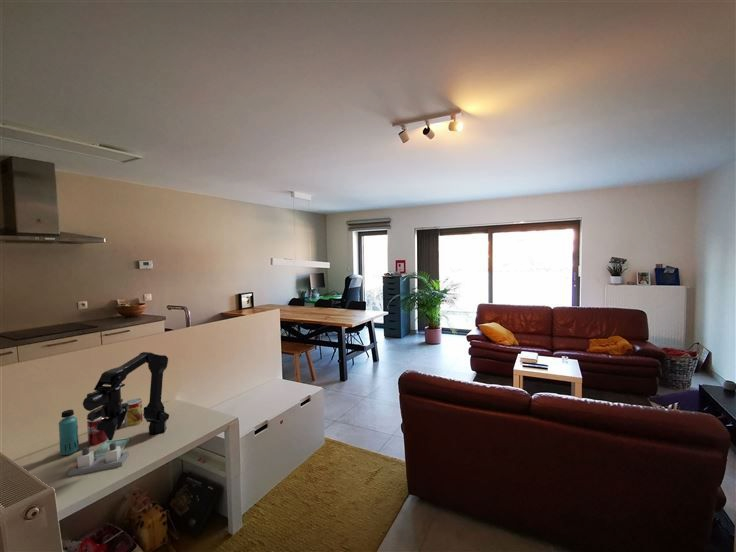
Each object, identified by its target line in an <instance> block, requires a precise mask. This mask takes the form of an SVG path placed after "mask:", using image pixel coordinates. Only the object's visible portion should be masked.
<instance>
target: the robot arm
mask: <svg viewBox="0 0 736 552" xmlns="http://www.w3.org/2000/svg"><path fill="white" fill-rule="evenodd" d="M145 364H147V367H148V370H149V371H150V373H151V374H150V375H151V376H150V389H149V401H148V404H147V405H146V406H144V407H143V412H142V417H143V419H144V420H145V421H146V423H149V424H148V434H149V437H151V436H157V435H162V434H165V432H166V430H167V428H168V427H167V426H166V425H167V424H166V423H167V420H169V418H170V414H169V413H168V412H166V411H165V405H164V404H163V402H162V395H163V378H164V377H163V376H164V372H165V370H166V369H167V367H168V364H169V357H168V356H166V355H163V354H155V353H154V352H150V351H149V352H148V351H142V352H140V353H139V354H138V355H137V356H135V357H133V358H131V359H130V360H128V361H126V362H125V363H123V364H122V365H119V366H118V367H115V368H111V369H108V370H105V371H104V372H102V374H100V378H99V379H98V381H97V383H96V384H95V387H94V389H93V391H92V392H89V393H87V394H86V397H85V398H84V399H83V402H82V406H83V408H84V409H85V410H86V411H87V412H88V411H89V413H88V414H86V415H87V416H86V419H87V421H88V420H90V421H94V420H95V419H97V418H99V417H101V416H102V418H105V417H107V418H106V419H102V420H101V421H100V422H99V423H98V424H97V425H96V430H99V431H101V430H102V431H104V432H105V434H106V436H107V438H108V439H107V441H110V440H114V436H115V433H116V430H117V431H119V430H121V428H122V426H123V423H124V418H125V416H126V414H127V412H128V409H129V404H127V403H124V399H123V398H122V392H121V391H122V389H121V388H123V387H125V386H126V384H125V383H123V382H124V381H125V380H126V378H127V376H128V375H129V374H130V373H132V372H133V371H135V370H136V369H138V368H139V367H141V366H142V365H145ZM124 409H125V411H124Z"/></svg>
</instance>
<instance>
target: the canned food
mask: <svg viewBox="0 0 736 552" xmlns="http://www.w3.org/2000/svg"><path fill="white" fill-rule="evenodd" d="M123 403H127V404H129V409H128V412H127V414H126V416H125V418H124V421H123V423H124V426H125V427H128V428H129V427H135V426H137V425H140V424H141V423H142V422H143V419H144V416H143V400H142V398H139V397H137V398H132V399H128V400H125V401H123ZM124 411H125V409H124Z"/></svg>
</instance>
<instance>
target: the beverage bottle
mask: <svg viewBox="0 0 736 552" xmlns="http://www.w3.org/2000/svg"><path fill="white" fill-rule="evenodd" d="M74 414H75V413H74V409H66V410H64V411H62V412H61V418H62V419H60V420H59V422H58V433H59V434H58V435H59V441H58V442H59V443H58V444H59V454H60V455H62V456H66V455H71V454H72V453H75V452H77V450H79V446H80V445H79V442H80V441H79V425H78V418H77V417H76V416H73V415H74Z"/></svg>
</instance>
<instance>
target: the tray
mask: <svg viewBox="0 0 736 552" xmlns="http://www.w3.org/2000/svg"><path fill="white" fill-rule="evenodd" d="M131 439H132V438H131V436H128V437H127V436H126V437H122V438H115V439H112V440H110V441H109V440H106V441H105V442H103V443H102V445H101V447H99V449H98V450H97V451H96V453H94V457H99V456H104V455H105V452H106V451H107V450H108V449H109V448H110V444H111V443H113V442H116V446H120V450H121V452H124V451H123V450H124V449H125V448H126V446H127V445H128V443H129V441H130V440H131Z"/></svg>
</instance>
